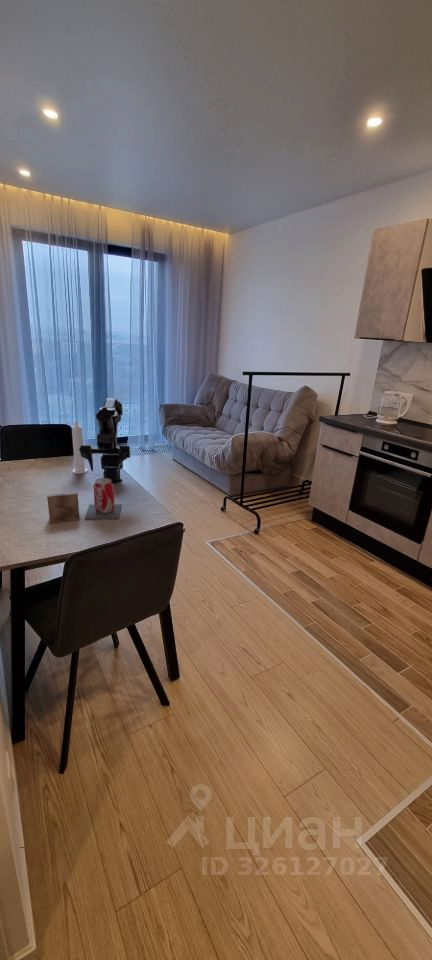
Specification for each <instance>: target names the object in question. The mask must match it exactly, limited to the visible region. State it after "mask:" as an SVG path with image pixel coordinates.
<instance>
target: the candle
mask: <svg viewBox="0 0 432 960" xmlns="http://www.w3.org/2000/svg"><path fill="white" fill-rule="evenodd" d="M71 436H72V449H73V460H74V468H73V469H72V473H73V474H75V475H83V474H87V473H88V471H89V469H88V468H86V464H85V458H83V457H81V454H80V451H79V449H80V446H81V445H84V433H83V426H82V425H80V424H79V423H78V420H77V419H75V423H74V424H73V425H72V426H71Z"/></svg>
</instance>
